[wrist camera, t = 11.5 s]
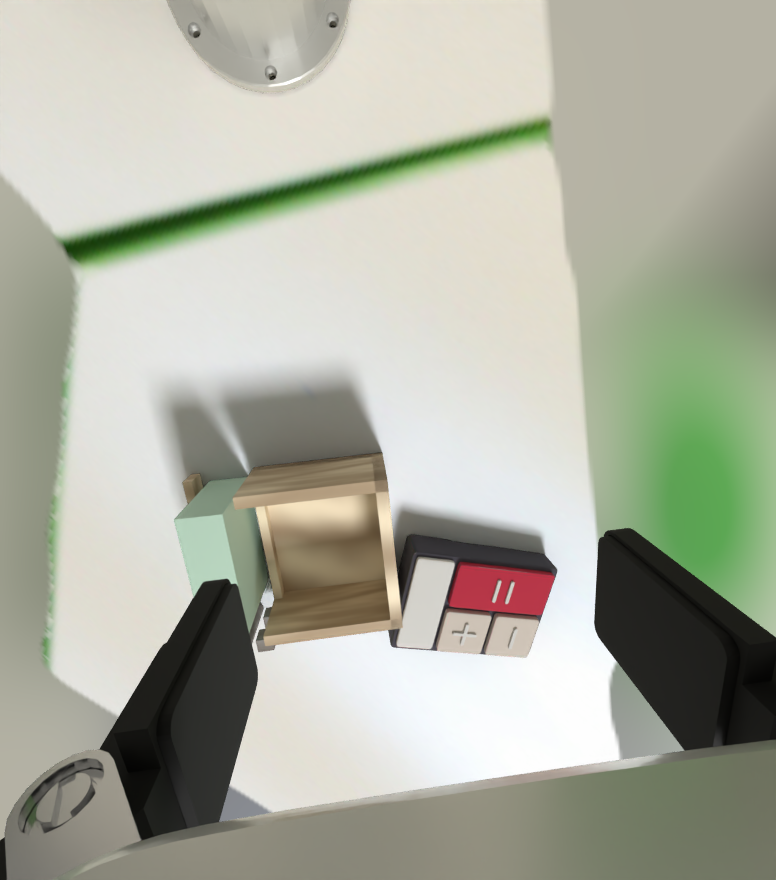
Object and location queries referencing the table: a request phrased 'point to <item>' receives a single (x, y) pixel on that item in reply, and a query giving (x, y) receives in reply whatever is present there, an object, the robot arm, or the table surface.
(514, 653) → the calculator
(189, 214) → the table surface
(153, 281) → the table surface
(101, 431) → the table surface
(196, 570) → the green block
